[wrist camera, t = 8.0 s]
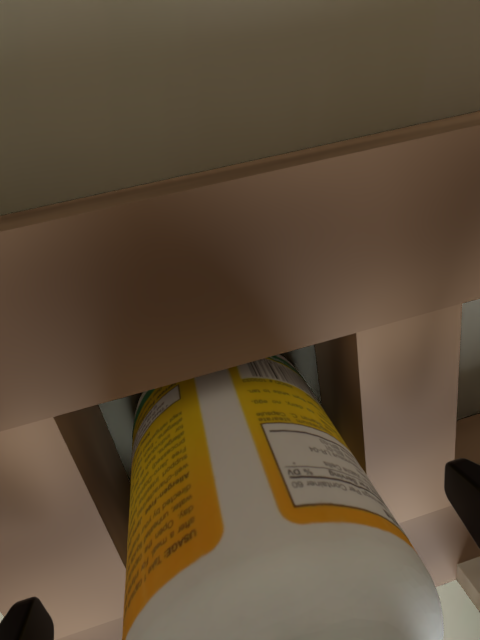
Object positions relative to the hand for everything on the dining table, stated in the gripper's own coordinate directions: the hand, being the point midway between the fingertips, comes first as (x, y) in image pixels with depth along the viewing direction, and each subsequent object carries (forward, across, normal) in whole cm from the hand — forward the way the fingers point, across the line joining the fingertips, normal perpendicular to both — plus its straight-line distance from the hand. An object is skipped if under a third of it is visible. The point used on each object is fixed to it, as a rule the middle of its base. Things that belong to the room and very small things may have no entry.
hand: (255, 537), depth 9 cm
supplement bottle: (+5, 0, 0) cm, 5 cm away
